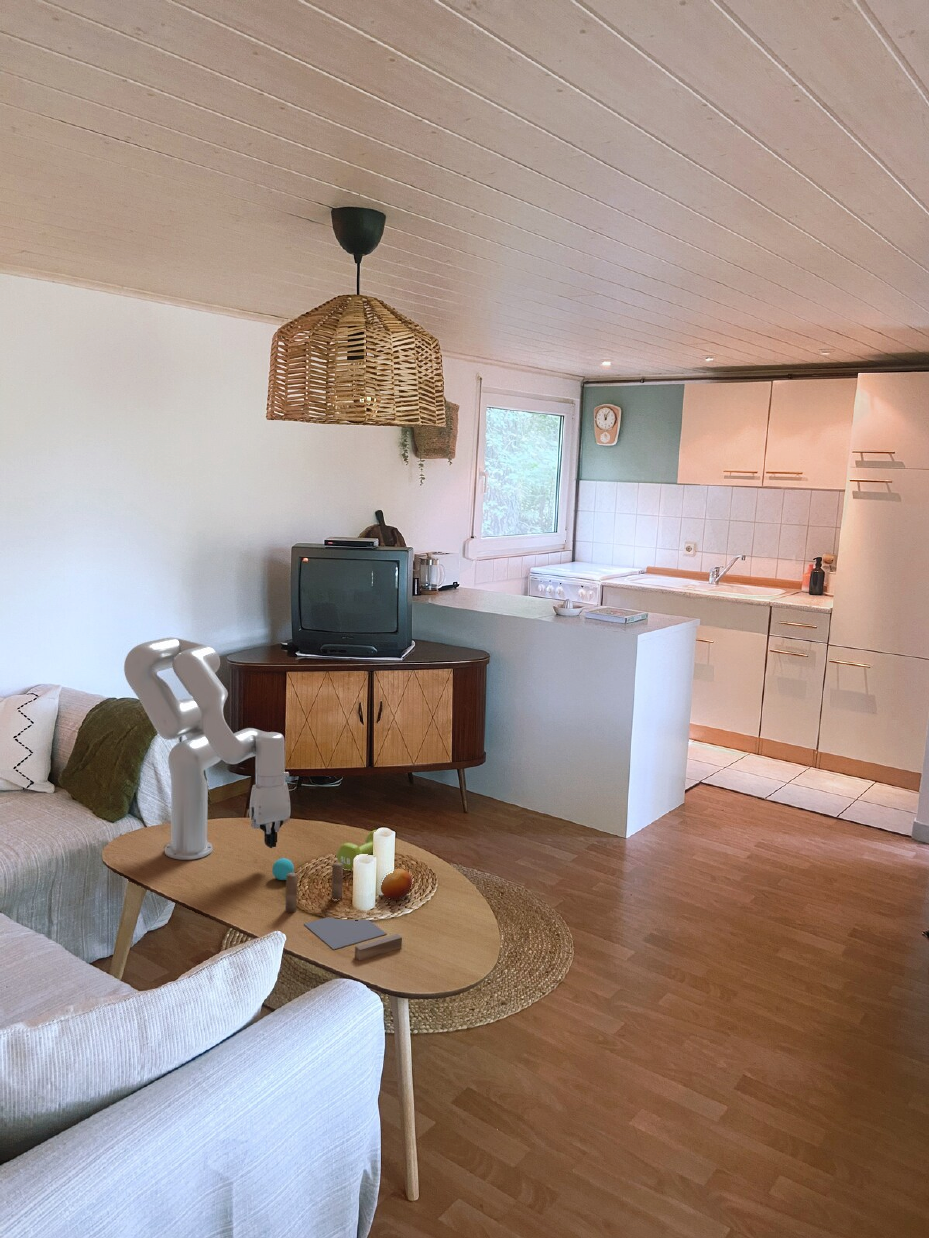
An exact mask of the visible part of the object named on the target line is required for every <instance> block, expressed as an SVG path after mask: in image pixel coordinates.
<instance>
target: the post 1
mask: <svg viewBox="0 0 929 1238" xmlns="http://www.w3.org/2000/svg"><path fill="white" fill-rule="evenodd" d="M298 875H299V874H298V873H295V872H293V873H288V874H287V878H286V880H285V881H286V882H285V884H286V885H285V907H284V908H285V909H284V910H285V912H286V913H288V914H294V913H296V912H297V902H298V901H297V900H298V877H299V876H298Z"/></svg>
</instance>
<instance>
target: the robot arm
mask: <svg viewBox="0 0 929 1238" xmlns="http://www.w3.org/2000/svg"><path fill="white" fill-rule="evenodd" d="M220 667H221V658H220V656H219V654H218V653H217V651H216V650H215V649H213V648H212V647H211V646H209V645H206V644H202V643H198V642H195V641H191V640H187V639H182V638H178V637H170V636H169V637H164V638H159V639H156V640H150V641H146V642H143V643H140V644H138V645H135V646H134V647H133V648H132V649H131V650H130V651H129V652H128V653H127V655H126V657H125V660H124V666H123V671H124V677H125V679H126V682H127V683H128V685H129V686H130V687H129V688H131V690H132V691H133V693H134V694H135V696H136V698H138V700H139V701H140V704H141V705H142V707H143V709H144V711H145V713H146V715H147V716H148V718H149V720H150V723H151V724H152V726H153V727H154V729H155V730H156V733H158V735H159V736H160V737H161V738H162V739H164V740H167V741H170V740H175V739H178V738H181V737H183V736H185V738H186V739H184V740H181V741H180V742H178V743H177V744H175V745H174V746H173V747H172V748H171V750H170V751H169V754H168V758H167V763H168V769H169V773H170V774H169V775H170V787H171V788H170V789H171V796H170V797H171V803H170V804H171V805H170V806H171V807H170V809H171V810H170V813H171V814H170V843H168V844H167V845H166V846H165V847H164V855H166V856H167V857H169V858H171V859H174V860H182V861H185V860H187V861H190V860H197V859H201V858H204V857H206V856H208V855H209V854H211V853H212V852H213V844H212V843H211V842H209V841H208V797H209V796H208V792H209V791H208V790H209V789H208V781H207V780H206V777H205V774H204V771H205V770H206V769H208V768H211V767H212V766H214V765H216V764H218V763H220V762H221V761H223V762H225V763H226V764H228V765H237V764H239V763H242V762H243V761H245V760H248V759H250V758H253V757H255V784H252V788H251V792H250V793H251V794H250V800H249V814H248V815H249V820H250V821H251V825H250V827H251V828H253V830H254V829H255V830H261V831H262V832H264V834H263V835H264V837H263V839H264V841H263V842H264V844H265V846H266V847H268V849H273V848H276V847H277V843H278V833H279V832H280V828H281V827H282V826H283V825H284V824H286V823H288V822H290V821H291V819H290V816H291V799H290V792H289V786H288V782H286V778H289V777H290V773H289V771H285V770H286V769H285V767H286V766H285V764H286V763H285V762H286V761H285V759H286V758H285V755H286V754H285V745H286V744H285V737H284V735H283V734H282V733H280V732H275V731H270V732H269V731H263V730H260V729H257V728H253V727H246V728H243V729H241V730H239V731H236V732H233V731H232V730H231V728H230V727H229V725H228V723H227V722H226V720H225V716H224V706H225V704H226V701H227V698H228V696H229V693H228V690H227V688H226V687H225V686H224V685H223V683H222V682H221V680H220V679H219V678H218V676H217V675H216V673H217V672H218V670H219V669H220ZM169 669H173V672H174V674H175V676H176V677H177V679H178V680H179V681H180V683H181V684H182V686H183V687H184V689H185V690H186V691H187V693H188V695H189V696H190V697H191V698H184V699H183V698H182V699H181V700H178V699H177V697H176V695H175V694H174V692H173V691H172V689H171V687H170V685H169V684H168V683H167V682H166V680H165V679H163V678H161V677H160V676H159V675H158V672H161V671H165V670H169Z"/></svg>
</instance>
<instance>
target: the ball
mask: <svg viewBox="0 0 929 1238" xmlns="http://www.w3.org/2000/svg"><path fill="white" fill-rule="evenodd" d="M294 869H295V867H294V864H293V862H292V860H290V859H288V858H285V857H284V858H283V857H282V858H279V859H277V860H276V861H275V862H274V863H273V866H272V875H273V876H274V878H276V879H277V880H280V881H286V878H287V874H288V873H294V871H295V870H294Z"/></svg>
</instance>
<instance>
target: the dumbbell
mask: <svg viewBox="0 0 929 1238" xmlns="http://www.w3.org/2000/svg"><path fill="white" fill-rule="evenodd" d="M377 830H378V829H373V830H372V831H370V832H369V834H368V835H367V836H366V839H365V843H364V844H362V845H359V846H358V845H357V844H354V843H352V842H345V843H343V844H341V846H340V847H339V849H338V850H337V852H336V859H337V862H339V863H343V868H344V869H350V870H351V872H350V873H353V872H352V867H353V858H354V857H355V856H356V855H359V854H369V855H370V856H372V855H373V833H374V832H376V831H377Z"/></svg>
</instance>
